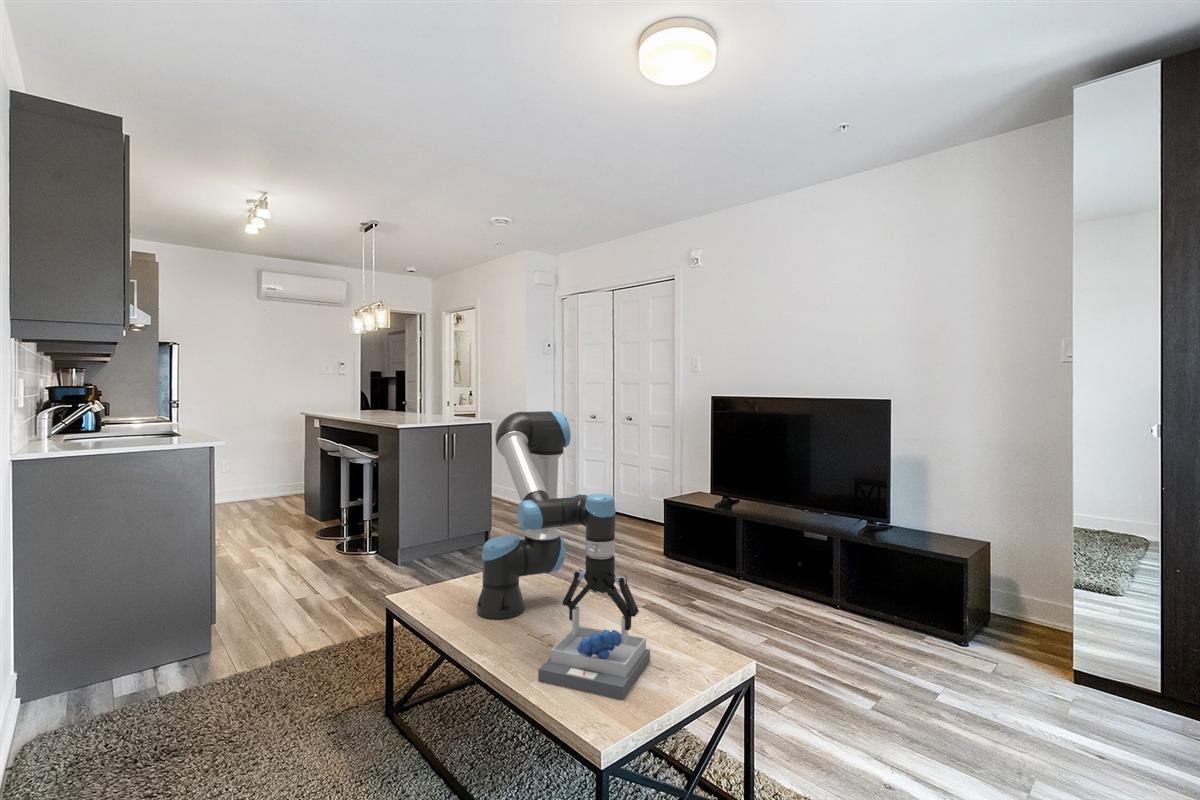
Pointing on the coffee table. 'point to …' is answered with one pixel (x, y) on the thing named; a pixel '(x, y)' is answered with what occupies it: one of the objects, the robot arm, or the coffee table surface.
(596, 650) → the grapes
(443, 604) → the coffee table surface
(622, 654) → the scale
